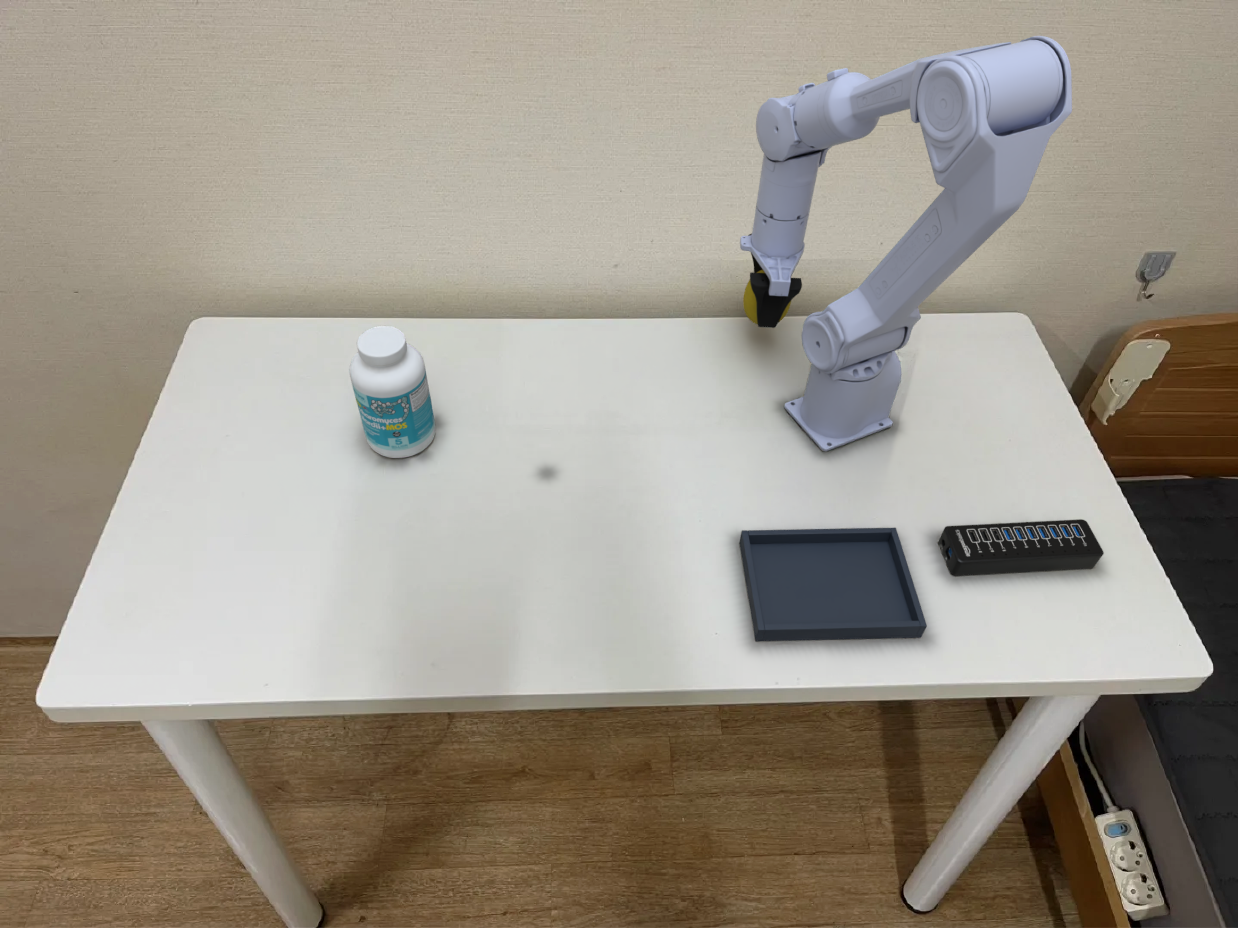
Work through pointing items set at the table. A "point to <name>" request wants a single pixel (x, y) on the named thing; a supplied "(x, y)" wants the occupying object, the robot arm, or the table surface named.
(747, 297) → the lemon
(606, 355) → the table surface
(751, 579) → the tray
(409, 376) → the pill bottle
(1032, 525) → the multiport hub
